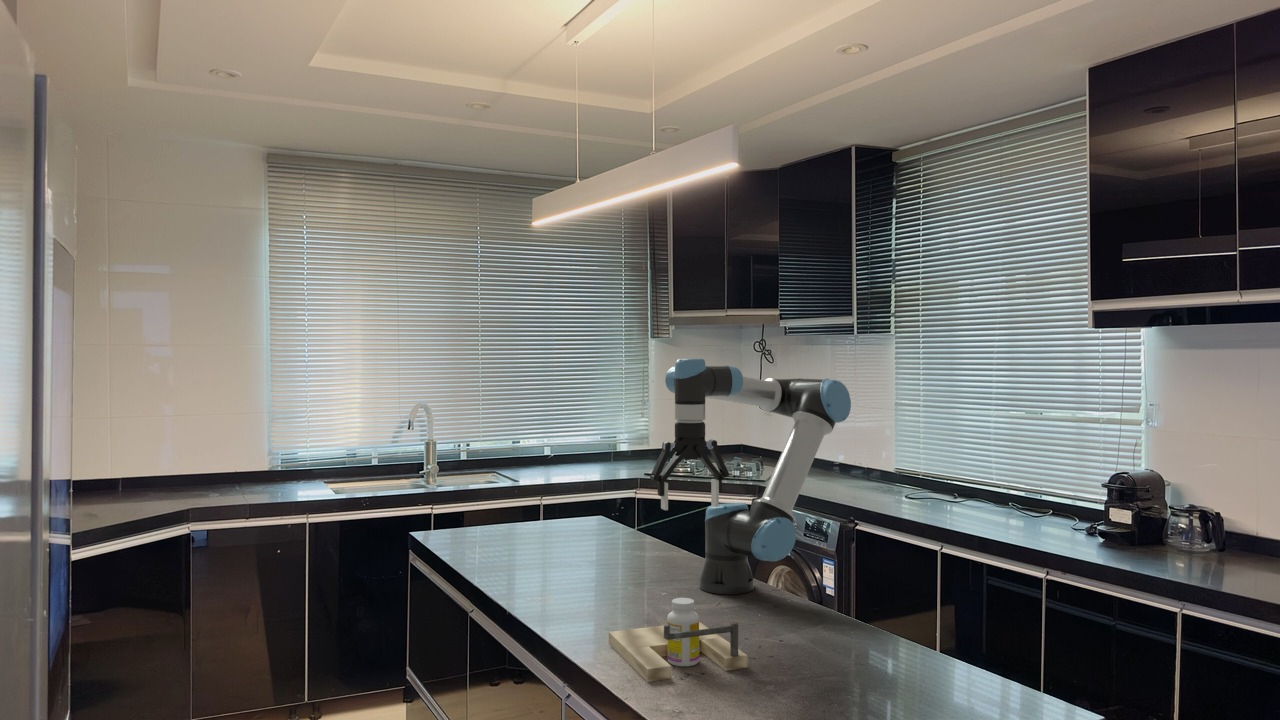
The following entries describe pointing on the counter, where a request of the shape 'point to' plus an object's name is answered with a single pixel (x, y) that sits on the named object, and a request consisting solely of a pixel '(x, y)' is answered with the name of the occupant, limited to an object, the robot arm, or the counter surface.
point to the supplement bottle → (681, 621)
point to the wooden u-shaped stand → (652, 644)
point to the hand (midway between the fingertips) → (690, 507)
